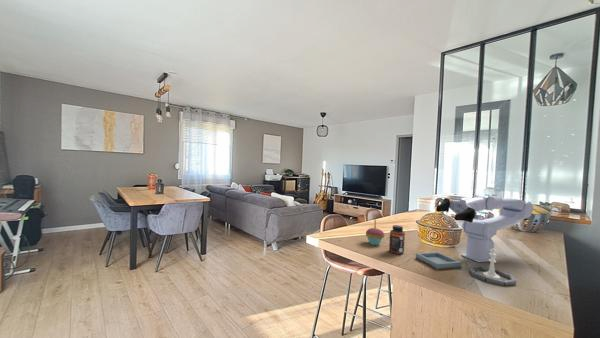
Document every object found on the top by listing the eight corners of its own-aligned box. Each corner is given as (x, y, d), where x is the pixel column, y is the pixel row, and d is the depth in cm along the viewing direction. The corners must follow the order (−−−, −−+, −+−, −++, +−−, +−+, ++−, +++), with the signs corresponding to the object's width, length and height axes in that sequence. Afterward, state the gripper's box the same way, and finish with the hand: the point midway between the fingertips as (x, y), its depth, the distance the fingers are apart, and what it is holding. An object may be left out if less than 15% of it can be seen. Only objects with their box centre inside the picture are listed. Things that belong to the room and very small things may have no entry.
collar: (487, 268, 93) (487, 265, 93) (523, 283, 81) (523, 280, 81) (462, 270, 89) (462, 267, 89) (496, 287, 78) (496, 283, 78)
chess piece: (501, 281, 82) (503, 252, 82) (483, 277, 84) (485, 248, 84) (499, 276, 86) (501, 248, 86) (481, 272, 89) (483, 245, 88)
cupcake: (364, 240, 122) (365, 215, 122) (382, 241, 121) (383, 217, 121) (366, 245, 113) (367, 219, 113) (385, 247, 112) (387, 221, 112)
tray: (437, 256, 103) (437, 251, 103) (461, 267, 92) (461, 262, 92) (415, 258, 100) (416, 253, 100) (437, 269, 90) (437, 264, 89)
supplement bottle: (405, 255, 103) (406, 228, 103) (390, 253, 104) (391, 227, 104) (402, 250, 109) (403, 225, 108) (388, 249, 110) (389, 223, 110)
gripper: (453, 191, 105) (431, 196, 100) (490, 204, 92) (467, 211, 87) (450, 206, 107) (428, 212, 102) (486, 221, 94) (463, 229, 89)
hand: (446, 213), depth 95 cm, fingers open, 7 cm apart
